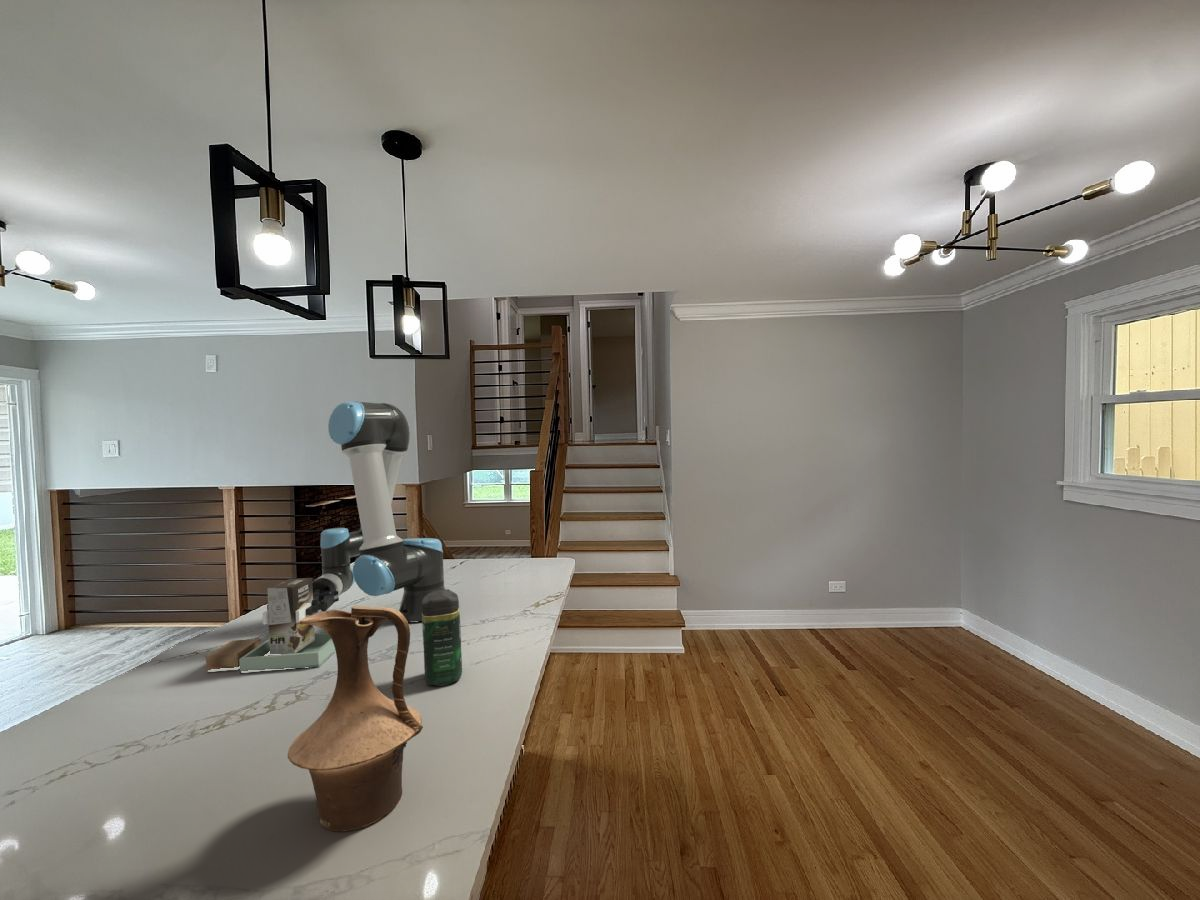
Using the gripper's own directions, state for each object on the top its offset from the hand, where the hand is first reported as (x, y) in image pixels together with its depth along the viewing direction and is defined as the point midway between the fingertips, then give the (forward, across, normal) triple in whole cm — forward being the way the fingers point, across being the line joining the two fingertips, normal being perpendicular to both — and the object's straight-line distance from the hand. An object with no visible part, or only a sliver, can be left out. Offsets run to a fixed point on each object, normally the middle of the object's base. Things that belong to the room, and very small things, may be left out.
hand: (281, 617), depth 127 cm
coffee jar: (+14, -40, -11) cm, 44 cm away
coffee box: (-5, 0, -9) cm, 10 cm away
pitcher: (+55, -37, -11) cm, 68 cm away
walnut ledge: (-5, +14, -12) cm, 19 cm away
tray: (-5, 0, -12) cm, 13 cm away
